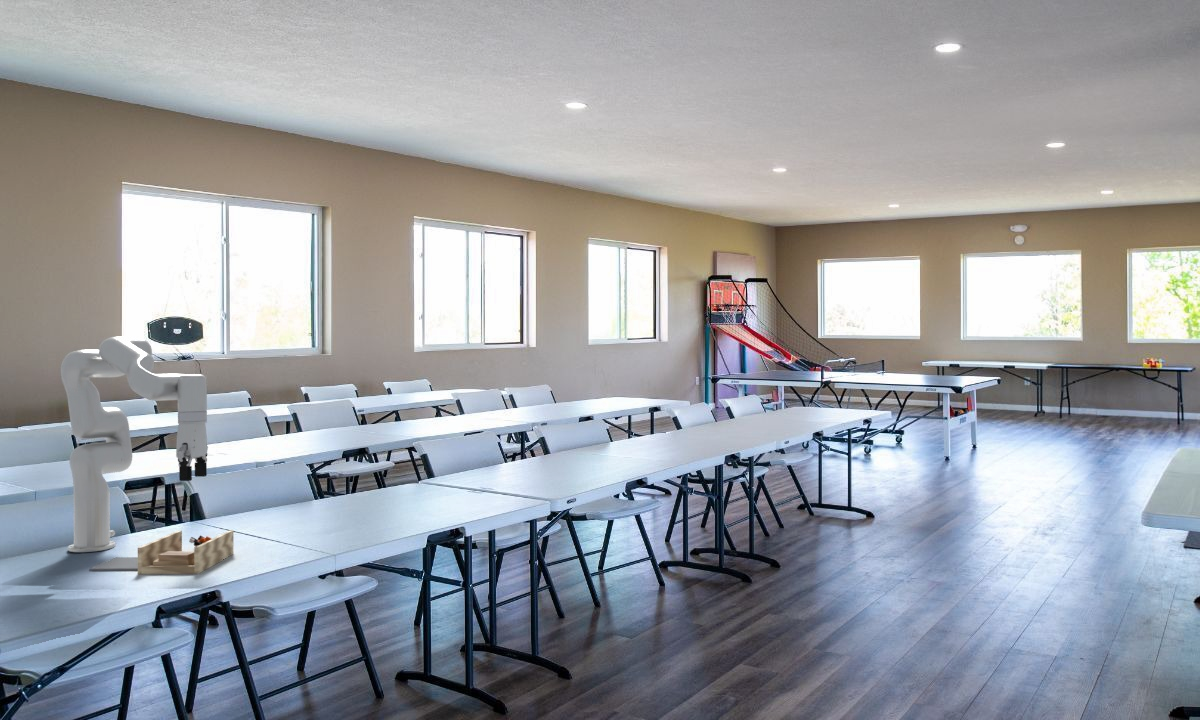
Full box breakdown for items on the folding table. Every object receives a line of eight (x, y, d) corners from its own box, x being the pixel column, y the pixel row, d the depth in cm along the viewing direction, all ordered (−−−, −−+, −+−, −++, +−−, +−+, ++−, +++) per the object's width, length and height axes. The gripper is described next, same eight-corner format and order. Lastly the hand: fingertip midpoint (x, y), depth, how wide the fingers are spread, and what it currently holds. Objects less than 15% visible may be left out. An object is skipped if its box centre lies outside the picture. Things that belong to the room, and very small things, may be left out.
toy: (196, 533, 256) (198, 524, 270) (183, 551, 255) (186, 541, 269) (222, 547, 259) (222, 537, 273) (209, 565, 258) (210, 554, 272)
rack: (178, 554, 264) (178, 530, 264) (233, 554, 265) (233, 530, 265) (137, 574, 240) (137, 547, 240) (198, 573, 241) (198, 547, 241)
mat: (116, 559, 258) (116, 557, 258) (165, 559, 258) (165, 557, 258) (89, 570, 244) (89, 568, 244) (141, 570, 244) (141, 568, 244)
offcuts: (162, 567, 248) (162, 551, 248) (198, 567, 248) (198, 551, 248) (151, 572, 242) (151, 555, 242) (189, 572, 242) (189, 555, 242)
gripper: (192, 416, 264) (193, 475, 264) (164, 420, 247) (165, 482, 247) (218, 416, 264) (219, 474, 264) (192, 419, 247) (193, 482, 247)
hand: (193, 478), depth 255 cm, fingers open, 9 cm apart
